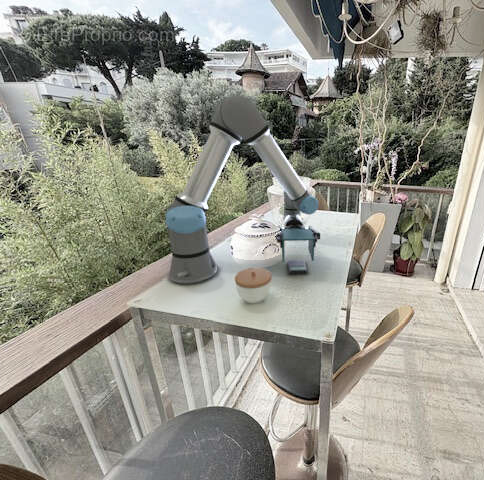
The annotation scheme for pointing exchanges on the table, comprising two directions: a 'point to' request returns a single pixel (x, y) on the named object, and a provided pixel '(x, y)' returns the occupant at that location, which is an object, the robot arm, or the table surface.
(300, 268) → the calculator
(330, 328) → the table surface
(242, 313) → the table surface
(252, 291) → the trinket box
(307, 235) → the cover
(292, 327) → the table surface
